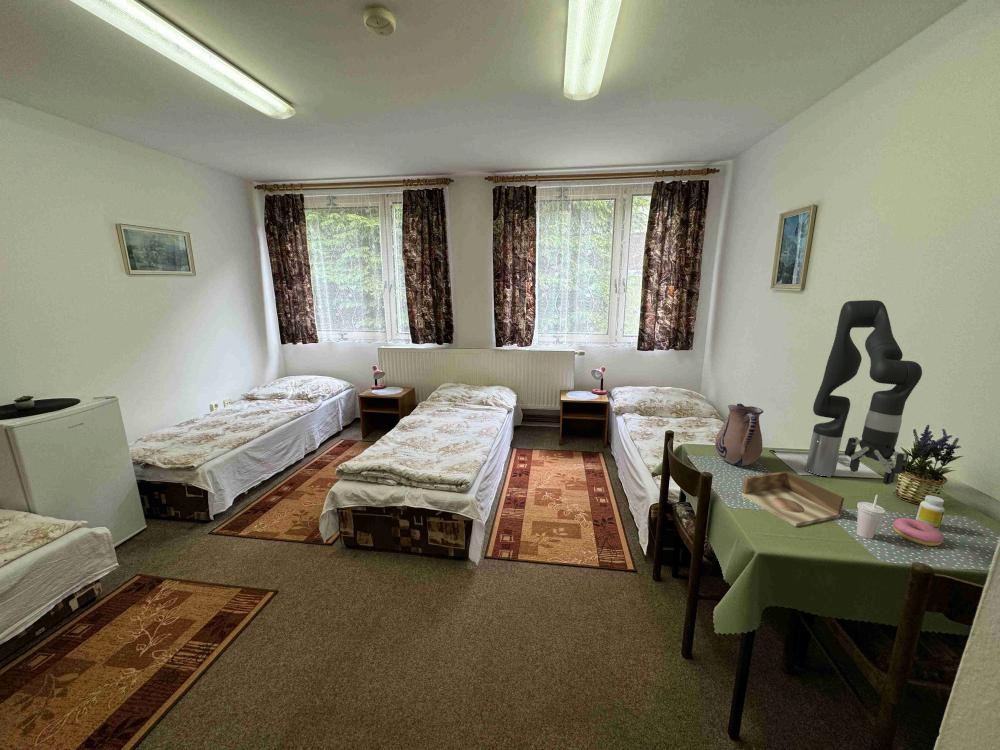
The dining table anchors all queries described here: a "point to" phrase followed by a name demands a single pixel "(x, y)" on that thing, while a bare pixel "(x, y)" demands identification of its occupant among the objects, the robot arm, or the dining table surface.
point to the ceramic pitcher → (740, 436)
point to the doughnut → (918, 531)
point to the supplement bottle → (931, 511)
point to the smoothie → (869, 518)
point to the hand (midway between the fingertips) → (869, 477)
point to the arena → (792, 498)
